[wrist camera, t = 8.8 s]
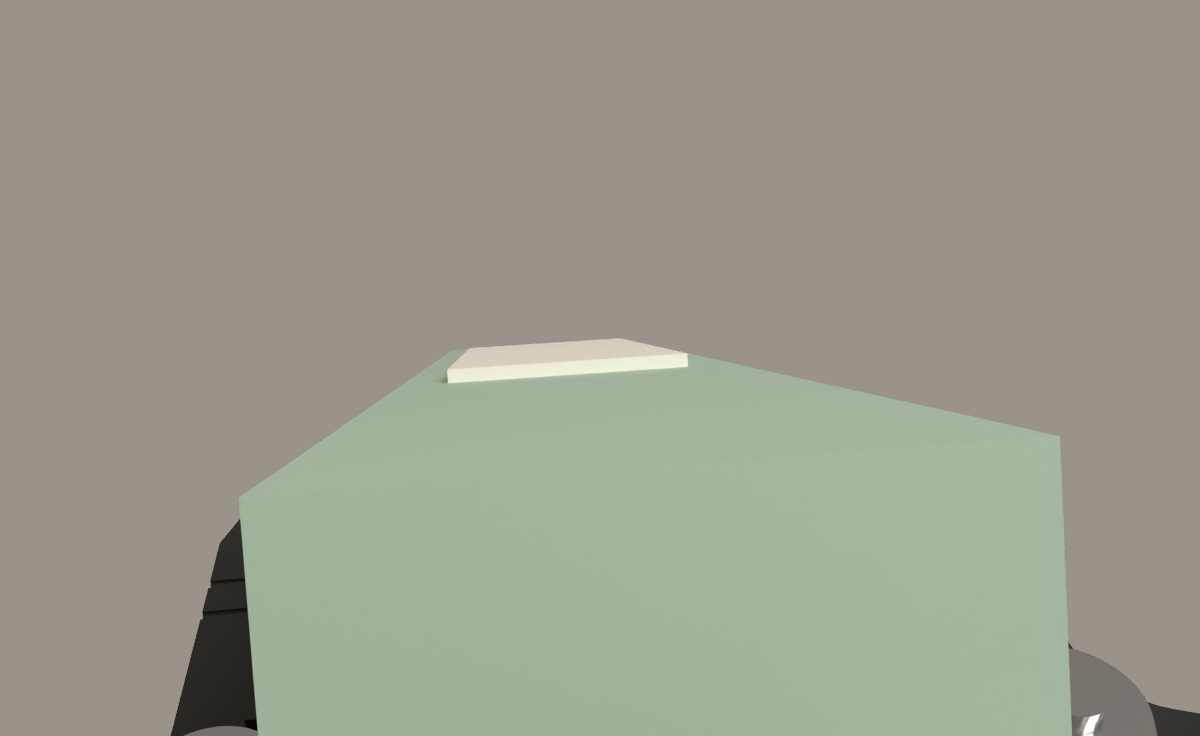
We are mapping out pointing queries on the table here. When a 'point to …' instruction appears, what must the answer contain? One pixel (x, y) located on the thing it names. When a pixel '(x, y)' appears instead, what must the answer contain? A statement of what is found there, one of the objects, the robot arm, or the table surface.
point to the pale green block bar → (657, 559)
